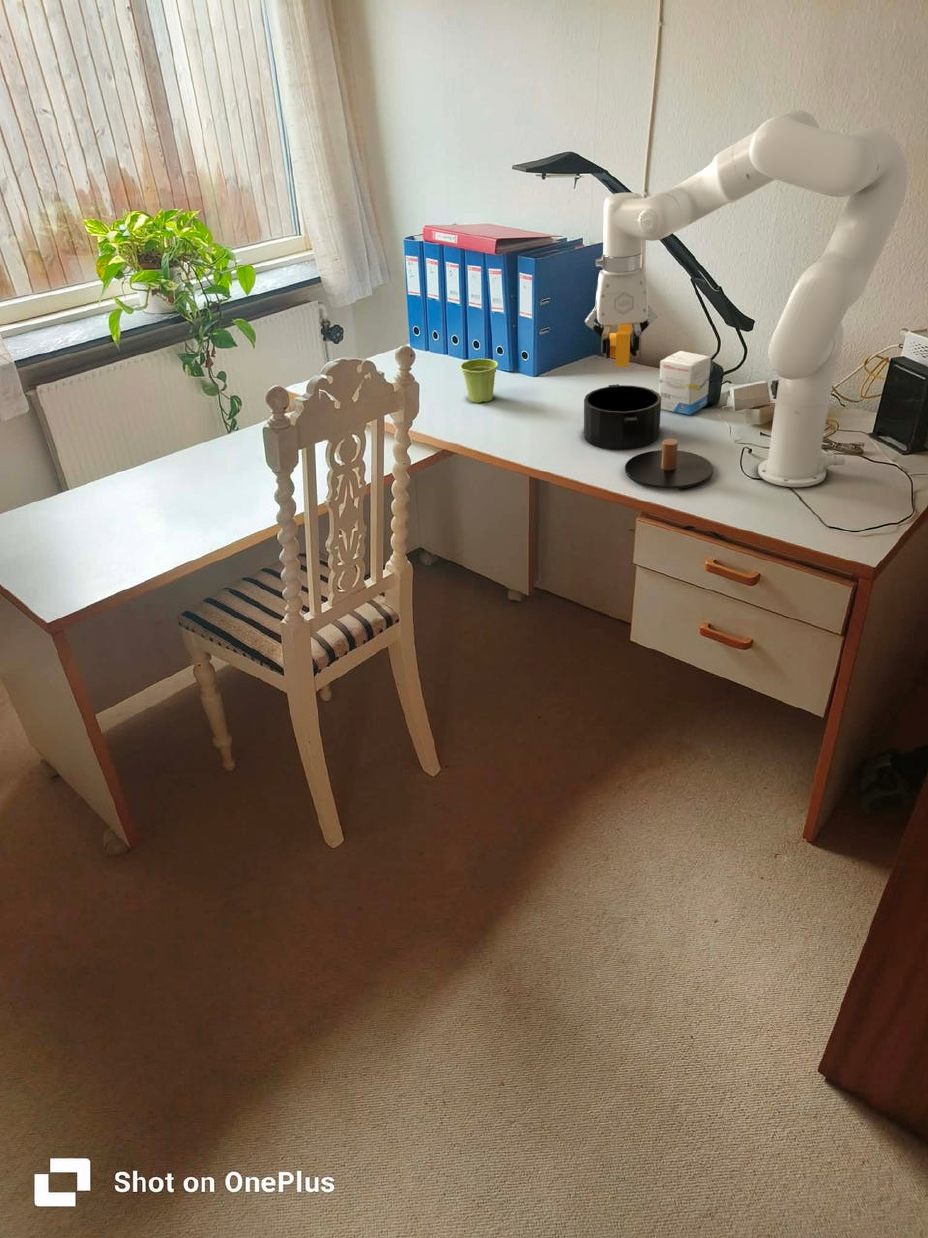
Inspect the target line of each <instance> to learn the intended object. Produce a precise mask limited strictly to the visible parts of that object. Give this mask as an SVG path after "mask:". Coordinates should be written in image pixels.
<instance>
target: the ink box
mask: <svg viewBox="0 0 928 1238" xmlns="http://www.w3.org/2000/svg"><path fill="white" fill-rule="evenodd" d="M711 361H712V356H709V355H704V354H700V353H699V354H698V353H693V352H689V351H688V352H687V351H684V350H678V351H677V352H675V353H672V354H670V355H668V356H666V357H665V358H663V359H661V360H660V362H659V385H658V386H659V387H658V393H659V395H660V396H661V410H663V411H669V412H673V413H677V414H683V415H687V416H692V414H694V413H696V412H698V411H699V410H701V409H702V408H704V407H706V406H707V405H708V397H707V395H708V396H709V386H710V375H711V374H710V373H711Z"/></svg>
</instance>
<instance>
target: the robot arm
mask: <svg viewBox="0 0 928 1238" xmlns="http://www.w3.org/2000/svg"><path fill="white" fill-rule="evenodd" d="M817 121H818V120H816V118H815V117H814V115H812V114H810V112H807V111H805V110H801V109H799V110H796V109H795V110H790V111H787V112H784V113H781V114H778V115H775V116H773V117H771V118H768V119H767V120H765V121H764V122H763V123H762V124H760V126H759V127H757V129H756V130H755V131H753V132H752V133H749V134H748V135H747V136H745V137H743V138H742V139H740V140H739V141H736V142H735V143H733V144H731V145H730V146H728V147H725V149H723V150H721V151H720V152H718V153H717V154H716V155H715V156H714V157H713V159H712V161H711V162H710V163H709V164H708V165H707V166H706V167H705V168H703V169H701V170H700V171H698V172H697V173H695V174H693V175H692V176H690V177H688V178H687V179H685V180H683V181H682V182H680V183H678V184H676V185H674V186H673V187H671V188H669V189H666V190H663V191H661V192H659V193H656V194H654V195H650V196H647V197H643V196H642V194H640V193H637V192H616V193H613V194H609V195H608V196H607V197H606V198H605V199H604V202H603V226H602V227H603V231H602V233H603V235H602V236H603V238H602V239H603V240H602V242H603V243H602V254H601V255H602V256H601V257H599V258H595V267H601V268H602V269H601V270H599V273H598V279H597V284H596V293H595V305H594V307H593V308H592V310H591V311H590V313H589V314H588V315H587V317H586V318H585V319H584V323H585V326H587V327H589V328H590V329H591V330H593V331H594V332H596V334H597V335H598V336H599V337H600V352H601V354H603V355H604V357H605V359H606V360H607V359H611V358H610V339H609V337H610V331H611V327H612V326H618V325H623V324H631V329H632V330H631V334H630V355H631V356H632V357H637V351H639V350H640V338H641V336H642V333H643V332H644V331H645V330H646V329H647V328H648V327H649V326H650V325H651V324H652V323H654V321H656V320H657V319H658V315H657V314H656V312H655V311H654V309H652V307H651V306H650V304H649V290H648V289H649V287H648V276H647V270H646V268H644V267H642V265H643V240H644V241H651V242H653V241H655V242H656V241H659V240H662V239H665V238H667V237H669V236H670V235H671V234H674V233H676V232H678V231H681V230H683V229H684V228H686V227H688V226H689V225H691V224H693V223H695V222H697V221H699V220H700V219H702V218H704V217H706V216H708V215H710V214H712V213H713V212H715V211H717V210H719V209H721V208H722V207H724V206H727V205H729V204H734V203H735V202H738V201H739V200H741V199H743V198H745V197H746V196H748V195H751V194H752V193H754V192H755V191H757V190H759V189H761V188H763V187H765V186H767V185H768V184H770V183H772V182H773V181H775V180H776V181H779V182H782V183H785V184H788V185H791V186H795V187H797V188H801V189H805V190H808V191H811V192H815V193H818V194H821V195H824V196H829V197H834V198H844V197H849V198H848V201H847V204H846V205H845V207H844V208H843V211H842V212H841V215H840V216H839V218H838V220H837V223H836V226H835V228H834V231H833V233H832V235H831V237H830V239H829V241H828V243H827V246H826V248H825V249H824V251H823V253H822V255H821V256H820V257H819V258H818V259H817V261H815V262H814V263H813V264H812V265H810V266H808V267H807V269H806V270H805V271H804V272H803V273H801V275H800V277H799V278H798V280H797V281H796V283H795V285H794V287H793V289H792V291H791V293H790V295H789V298H788V300H787V302H786V304H785V307H784V308H783V311H782V313H781V316H780V318H779V320H778V322H777V325H776V327H775V329H774V332H773V334H772V336H771V339H770V341H769V345H768V350H767V357H768V363H769V366H770V367H771V369H772V370H773V372H774V373H775V374H776V375H777V376H779V377H778V383H777V390H776V397H775V404H774V410H773V419H772V427H771V433H770V439H769V448H768V456H767V458H766V459H765V460H763V461H761V462H760V463H759V465H758V469H757V473H758V476H760V478H761V479H762V480H764V481H766V482H768V483H769V484H773V485H776V486H780V487H786V488H806V487H813V486H815V485H818V484H820V483H822V482H823V481H824V480H825V479H826V474H827V470H826V468H828V467H829V466H842V465H845V464H846V463H845V462H846V457H845V454H835V455H834V451H824V452H823V451H822V449H823V443H824V436H825V431H826V426H827V425H826V424H827V419H828V414H829V413H828V412H829V407H830V401H831V396H832V390H833V385H834V381H835V380H834V379H835V376H836V372H837V368H838V363H839V360H840V356H841V353H842V349H843V343H844V327H843V324H842V321H843V320H844V318H845V316H846V314H847V311H848V310H849V309H850V308H851V307H852V306H853V305H854V304H855V303H856V302H857V301H858V300H859V299H860V297H861V296H862V295H863V293H864V292H865V289H866V288H867V284H868V282H869V280H870V278H871V275H872V273H873V271H874V270H875V267H876V265H877V262H878V261H879V258H880V256H881V255H882V253H883V250H884V248H885V246H886V244H887V241H888V239H889V237H890V235H891V232H892V230H893V228H894V226H895V225H896V222H897V221H898V218H899V215H900V213H901V211H902V208H903V206H904V202H905V199H906V195H907V192H908V185H909V168H908V167H909V165H908V162H907V158H906V155H905V153H904V150H903V148H902V147H901V146H900V144H899V143H898V141H897V140H896V139H895V137H894V136H893V135H891V134H890V133H888V132H887V131H885V130H883V129H881V128H877V127H866V128H860V129H857V130H855V131H852V132H850V133H847V134H842V133H838V132H834V131H831V130H827V129H823V128H820V126H819V123H818V122H817ZM595 320H597V322H598V323H599V324H600V325H599V324H598V323H596V321H595Z"/></svg>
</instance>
